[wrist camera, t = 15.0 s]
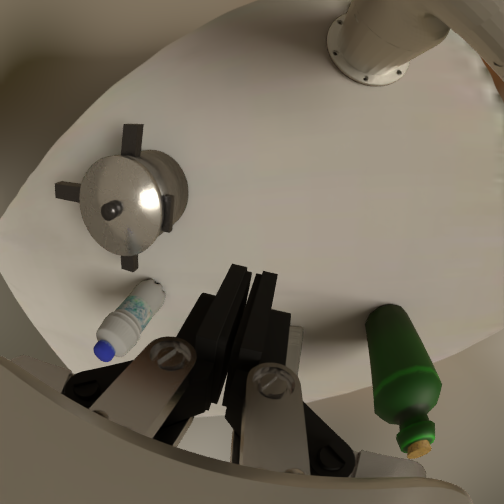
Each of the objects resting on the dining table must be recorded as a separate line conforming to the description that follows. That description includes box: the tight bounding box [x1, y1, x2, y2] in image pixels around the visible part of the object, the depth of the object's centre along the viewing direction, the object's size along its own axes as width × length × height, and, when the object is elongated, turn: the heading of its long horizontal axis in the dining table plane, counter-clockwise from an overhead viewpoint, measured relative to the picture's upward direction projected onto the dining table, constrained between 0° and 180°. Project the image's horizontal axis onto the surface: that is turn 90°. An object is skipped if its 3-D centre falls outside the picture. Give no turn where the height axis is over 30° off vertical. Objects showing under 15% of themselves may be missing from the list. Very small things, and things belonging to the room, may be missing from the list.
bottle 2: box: [365, 304, 442, 459], centre depth 35 cm, size 11×11×28 cm
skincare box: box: [286, 326, 303, 376], centre depth 46 cm, size 8×7×16 cm
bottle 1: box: [94, 279, 166, 362], centre depth 45 cm, size 7×7×20 cm
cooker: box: [55, 124, 188, 272], centre depth 41 cm, size 23×24×9 cm
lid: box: [79, 155, 164, 256], centre depth 35 cm, size 15×15×3 cm
